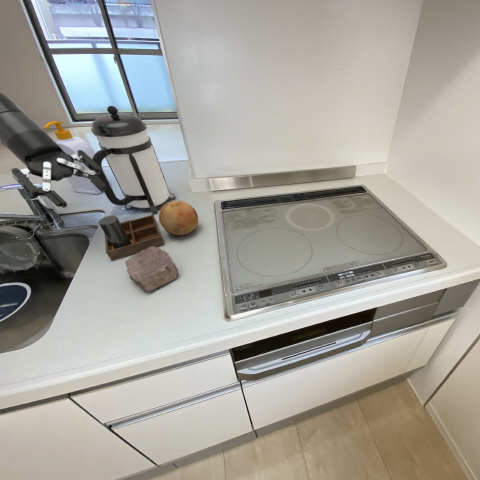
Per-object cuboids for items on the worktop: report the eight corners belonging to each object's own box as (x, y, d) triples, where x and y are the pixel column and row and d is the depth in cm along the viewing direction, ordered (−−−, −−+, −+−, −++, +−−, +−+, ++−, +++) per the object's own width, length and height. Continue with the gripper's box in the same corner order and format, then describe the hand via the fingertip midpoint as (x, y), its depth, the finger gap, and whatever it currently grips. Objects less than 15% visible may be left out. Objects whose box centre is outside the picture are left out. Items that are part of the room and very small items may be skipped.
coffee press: (122, 198, 89) (73, 101, 70) (173, 189, 95) (141, 98, 76) (121, 225, 77) (63, 118, 58) (179, 213, 84) (144, 112, 65)
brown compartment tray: (111, 261, 66) (106, 252, 64) (108, 235, 73) (103, 227, 72) (164, 244, 72) (161, 236, 70) (156, 222, 79) (153, 214, 77)
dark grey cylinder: (115, 254, 67) (98, 226, 61) (114, 246, 69) (97, 218, 64) (133, 249, 69) (118, 221, 63) (131, 241, 71) (117, 213, 65)
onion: (200, 219, 82) (191, 191, 75) (202, 237, 75) (194, 208, 69) (165, 225, 78) (154, 196, 72) (165, 245, 71) (152, 215, 65)
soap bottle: (73, 193, 90) (29, 123, 75) (89, 184, 95) (51, 117, 81) (97, 196, 89) (58, 126, 75) (112, 186, 95) (78, 119, 80)
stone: (124, 270, 63) (115, 257, 61) (161, 253, 69) (155, 239, 66) (145, 297, 58) (137, 283, 55) (184, 275, 63) (178, 262, 60)
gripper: (-21, 138, 50) (50, 205, 54) (63, 121, 60) (117, 178, 64) (-14, 159, 55) (51, 218, 59) (62, 140, 65) (113, 192, 69)
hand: (85, 197), depth 61 cm, fingers open, 8 cm apart
